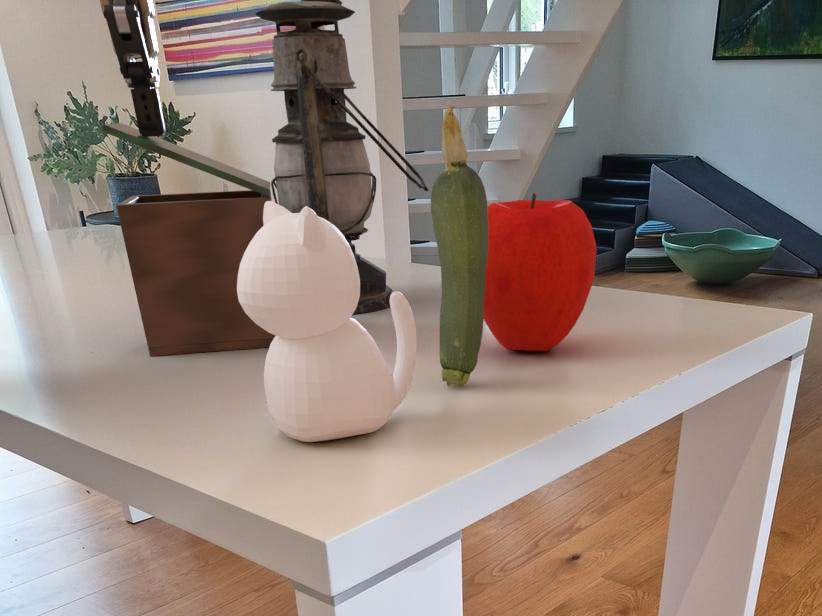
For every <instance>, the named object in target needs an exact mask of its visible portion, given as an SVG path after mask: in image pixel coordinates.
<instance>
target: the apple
mask: <svg viewBox="0 0 822 616" xmlns="http://www.w3.org/2000/svg"><path fill="white" fill-rule="evenodd" d="M487 206H488V239H489V243H488V256H487V265H486V281H485V298H484V320H483V322H484V323H485V324H486V326H487V328H488V329H489V330H490V332H491V334H492V336H493V337H494V338H495V339H496V341H497V342H498V343H499V344H500V345H501V346H503V348H505V349H507V350H512V351H514V350H515V351H530V352H531V351H532V352H533V351H534V352H548V351H549V350H551V349H553V348H555V347H556V346H558V345H560V343H561V342H562V341H563V340H564V339H565V338H566V337H568V335H569V334H570V332H571V331H572V330H573V328H574V327H575V325H576V324H577V322H578V321H579V319H580V316H581V315H582V313H583V311H584V310H585V306H586V303H587V300H588V297H589V294H590V291H591V289H592V286H593V283H594V279H595V269H596V260H597V247H598V246H597V243H596V239H595V235H594V231H593V227H592V224H591V222H590V221H589V220H590V219H588V217H587V215H586V213H585V211H584V210H583V209H582V208H581V207H580V206H578V205H577V204H575V203H574V202H573V201H572V200H569V199H555V200H541V199H539V200H537V194H535V193H534V192H532V196H531V199H518V200H511V201H501V202H499V201H498V202H491V203H489V204H487Z"/></svg>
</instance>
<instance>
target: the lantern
mask: <svg viewBox="0 0 822 616" xmlns="http://www.w3.org/2000/svg"><path fill="white" fill-rule="evenodd" d="M355 13H356V11H354V10H352V9H350V8H348V7H346V6H344V5H343V1H341V0H300V1H284V2H276V3H271V4H269V5H268V6H265V7H264V8H262V9H259V10H258V11H257V12H256V13H254V15H255V16H257V17H258V18H259V19H261V20H264V21H268V22H272V23H275V30H276V34H274V35H273V39H272V42H271V43H272V57H273V58H272V60H273V81H272V82H271V84H270V87H272V88H271V89H270V91H271V92H283V94H284V97H283V98H284V106H285V112H286V118H287V119H286V120H287V124H286V125H284V126H282V127H281V128H280V129H277V135H276V136H274V137H273V138H271V140H272V141H271V142H272V143H275V147H274V161H273V162H274V164H273V171H274V178H273V179H272V180H271V181H270V188H271V191H272V196H273V199H274V203H276V204H278V205H281V206H283V207H284V208H286V209H287V210H288V211H290V212H291V213H300V212H301V210H302V209H303V208H304V207H306V206H307V207H309V208H311V209H312V210H313V211H314V212H315V213H316V215H317V216H318V217H321V218H324V219H326V220H327V221H328V222H330V223H331V224H333V225H334V226H335V227H336V228H337V229H338V230H339V231H340V232H341V233H342V234H343V236H344V237H345V239H346V240H347V242H348V244H349V245H350V248H351V250H352V252H353V254H354V257H355V260H356V264H357V267H358V272H359V278H360V297H359V301H358V304H357V307H356V309H355V311H354V313H353V314H352V315H359V314H366V313H372V312H377V311H381V310H385V309H388V308H390V295H391V294H392V292H394V291H393V289H392V288H391V287H389V285H387V272H386V271H385V270H384V269H382V268H381V267H379V266H377V265H376V264H374V263H372V262H371V261H370V260H368V259H366V258H365V257H362V256H361V254H359V253H357V251H356V245H355V244H354V243H353V241H357V240H360V238H361V236H362V235H363V234H365V233H368V232H369V228H366V227H365V222H367V220H369V218H370V217H371V215H372V210H373V207H374V203H375V197H376V193H377V177H376V175H374V173H373V172H372V171H371V164H370V160H369V157H368V153H367V150H366V146H365V143H364V140H366V138H367V137H366V135H367V136H368V137H369V138H370V139H371V140H372V141H373V142H374V143H375V144H376V145H377V146H378V147H379V148H380V150H382V152H383V153H384V154H385V155H386V156H387V157H388V158H389V159H390V160H391V161H392V163H393V164H395V166H396V167H397V168H398V169H399V170H400V171H401V173H403V174H404V175H405V176H406V177H407V179H409V180H410V181H411V182H412V183H414V184H415V185H416V186H417V187H418V188H419V189H423V191H425V192H428V191H429V188H428V187H427V185H426V184H425V181H424V179H423V178H422V176H421V175H420V173H419V172H418V171H417V170H416V169H415V168H414V167H413V166H412V165H411V163H409V161H408V160H407V159H406V158H405V157H404V156H403V155H402V154H401V153H400V151H398V149H396V147H395V146H393V144H392V143H391V142H390V141H389V140H388V139H387V138H386V136H384V135H383V134H382V133H381V131H380V130H379V129H378V128H377V127H376V126H375V125H374V124H373V122H371V121H370V119H368V118H367V116H366V115H364V113H363V112H362V111H361V110H360V109H359V108H358V107H357V105H356V104H355V103H354V102H353V100H351V99H350V98H349V97H348V95H347V94H346V93H345V90H353V89H355V90H356V89H357V86H355V84H356V82H355V80H354V79H352V76H351V72H350V66H349V59H348V58H349V57H348V52H347V46H346V40H345V38H344V37H343V36H344V35H343V33H340V30H339V22H338V21H342V20H345V19H350V18H351V17H352V16H353V15H354V14H355ZM332 25H334V30H332V29H331V30H330V29H321V28H320V27H325V26H332ZM281 27H294V29H291V30H284V31H281ZM319 28H320V29H319ZM346 102H347V103H348V104H349V105H350V106H351V107H352V108H353V109H354V111H355V112H356V113H357V114H358V115H359V116H360V118H362V119H363V121H365V122H366V123H367V125H368V126H369V127H370V128H371V129H372V130H373V131H374V132H375V133H376V135H378V137H380V139H381V140H382V141H383V142H384V143H385V144H386V145H387V147H389V148H390V150H391V151H393V152H394V153H395V154H396V156H397V157H398V158H399V159H400V160H401V161H402V162H403V164H405V165H406V167H408V168H409V170H410V171H411V172H412V173H413V174H414V175H415V176H416V177H417V179H418V180H419V181H420V182H418V181H417V180H416V179H415V178H414V177H412V176H411V175H410V174H409V173H408V171H407V170H406V168H404V167H403V166H402V165H401V164H400V163H399V161H397V159H396V158H395V157H394V156H393V155H392V154H391V153H390V152H389V151H388V150H387V149H386V147H385V146H384V145H383V144H382V143H381V142H380V141H379V139H377V138H376V136H375V135H374V134H373V133H371V132H370V130H369V129H368V128H367V127H366V126H365V125H364V123H362V121H360V120H359V118H358V117H357V116H356V115H354V113H353V112H352V111H351V110H350V109H349V108H348V107H347V105H346ZM347 114H348V115H349V116H350V117H351V119H352V120H353V121H355V123H356V124H357V125H358V126H359V127H360V128H361V129H362V130H363V131H364V133H366V135H365V134H363V133H362V132H360V131H359V127H358V126H356V125H354V124H352V123H350V122H348V121H347ZM275 189H276V191H275ZM276 192H277V194H276Z"/></svg>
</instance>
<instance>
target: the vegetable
mask: <svg viewBox="0 0 822 616" xmlns="http://www.w3.org/2000/svg"><path fill="white" fill-rule="evenodd" d="M454 109H455V106H454V105H450V106H449V107H448V108H446V110H445V111H444V114H443V117H442V125H441V126H442V127H441V128H442V129H441V133H442V140H441V154H442V158H443V160H444V163H445V166H446V167H445V168H444V169H443V170H442V171H441V172H439V175H438V176H437V177H436V178H435V181H434V183H433V185H432V187H431V188H432V189H431V194H430V212H431V213H430V214H431V219H432V227H433V232H434V236H435V241H436V245H437V253H438V257H439V264H440V275H441V301H440V302H441V303H440V312H439V363H440V366H441V368H442V370H441V379H442V382H445V383H446V386H447V387H450V386H452V385H454V386H460V387H463V386H465V385H466V384H467V383H468V382H469V379H470V377H471V374H472V372H474V370H475V369H476V367H477V364H478V358H479V352H480V349H481V343H482V338H483V331H484V298H485V281H486V265H487V256H488V243H489V239H488V197H487V193H486V188H485V186H484V183H483V181H482V178H481V176H480V175H479V174H478V173H477V172H476V171H475V170H474V169H473V168H472V167H470V166H469V165H468V164H467V159H468V152H467V148H466V145H465V140H464V138H463V134H462V130H461V123H460V120H459V119H458V118H457V115H456V114H455V113H454Z"/></svg>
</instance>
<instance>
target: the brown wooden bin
mask: <svg viewBox="0 0 822 616" xmlns="http://www.w3.org/2000/svg"><path fill="white" fill-rule="evenodd" d="M272 199H273V198H272V193H271V191H270V192H269V196H265V195H263V194H260V193H258V192H255V191H253V190H250V189H247V190H246V189H243V190H229V191H228V190H224V191H206V192H203V191H201V192H183V193H161V194H142V195H139V194H138V195H131V196H130V197H128V198H126V199H125V200H123V201H121V202H119V203H117V204H116V206H115V207H116V210H117V215H118V219H119V225H120V228H121V234H122V237H123V242H124V246H125V251H126V256H127V260H128V264H129V269H130V274H131V278H132V282H133V287H134V291H135V296H136V300H137V304H138V305H137V306H138V309H139V314H140V318H141V323H142V326H143V327H142V328H143V332H144V337H145V340H146V344H147V350H148V354H149V357H159V356H171V355H173V356H174V355H185V354H199V353H200V354H201V353H213V352H225V351H226V352H227V351H238V350H239V351H240V350H251V349H252V350H253V349H263V348H269V347H270V344H271V342H272V341H273V339H274V337H275V336H276V335H273V334H271V333H269V332H267V331H266V330H264V329H263V328H261V327H260V326H258V325H257V324H256V323H254V321H253V320H252V319H251V318H250V317H249V316H248V315H247V314H246V313H245V311H244V310H243V308H242V306H241V304H240V303H239V300H238V294H237V278H238V272H239V267H240V263H241V260H242V258H243V255H244V253H245V251H246V249H247V247H248V245H249V243H250V242H251V240H252V239H253V237H254V236H255V234H256V233H257V232H258V231H259V230H260V229H261V228H262V227H263V226H264V224H263V210H264V204H265V203H266V201H272V202H273V200H272Z"/></svg>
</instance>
